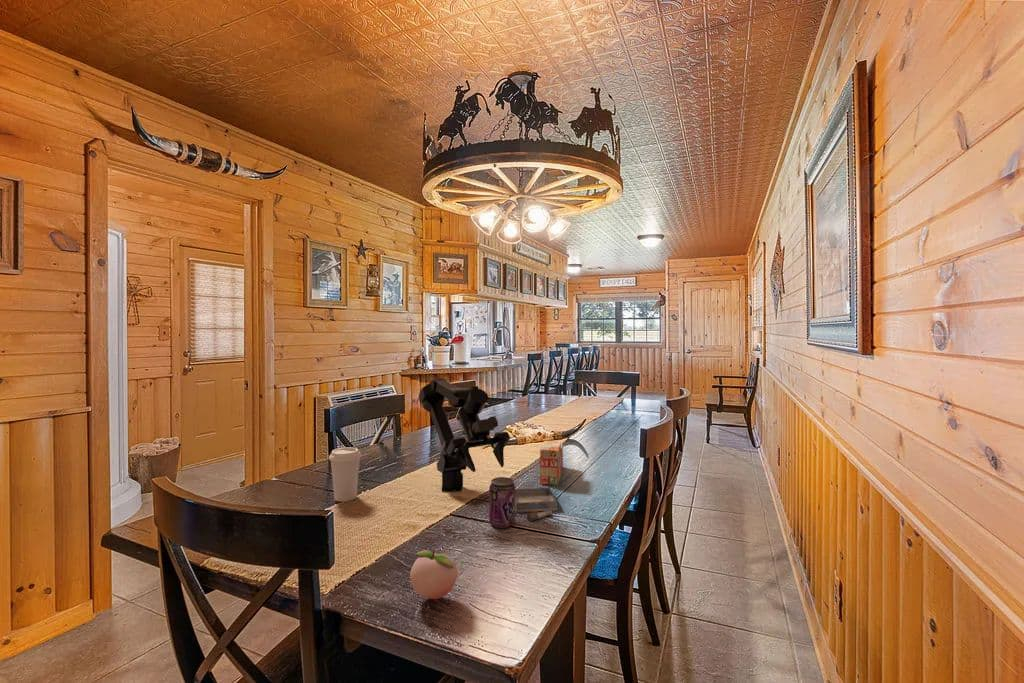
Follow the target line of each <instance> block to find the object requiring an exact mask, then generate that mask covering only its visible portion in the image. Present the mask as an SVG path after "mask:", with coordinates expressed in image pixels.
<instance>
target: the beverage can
mask: <svg viewBox="0 0 1024 683" xmlns="http://www.w3.org/2000/svg"><path fill="white" fill-rule="evenodd" d="M515 489H516V485H515V483H514V479H513V478H511V477H505V476H499V477H495V478H494V477H493V478H492V479H491V480H490V484H489V491H488V492H489V493H488V494H489V496H488V500H489V502H488V503H489V504H488V506H489V507H488V509H489V510H488V511H489V512H488V517H489V520H488V522H489V524H490V525H491V526H493V527H495V528H499V529H505V528H508V527H511V526H513V525H515V524H516V509H515Z"/></svg>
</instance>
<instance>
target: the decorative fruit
mask: <svg viewBox="0 0 1024 683" xmlns="http://www.w3.org/2000/svg"><path fill="white" fill-rule="evenodd" d="M415 556H418V557H417V558H416V560H415V561H414V563H412V564H413V565H412V567H411V570H410V574H409V578H410V583H411V585H412V587H413V590H414V591H415V592H416V593H417V594H418V595H419V596H421V597H423V598H428V599H431V600H437V599H438V600H439V599H442V598H443V597H445V596H446V595H448V594H449V593H450V592H451V591H452V589H453V588H454V587H455V585H456V582H457V578H458V568H457V564H456V562H455V561H454V560H453V559H452V558H451V557H450V556H448V555H446V554H437V553H436V552H435V549H432V551H431V550H428V549H427V550H425V549H424V550H421V551H418V552H416V553H415Z"/></svg>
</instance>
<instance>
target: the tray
mask: <svg viewBox="0 0 1024 683" xmlns="http://www.w3.org/2000/svg"><path fill="white" fill-rule="evenodd" d="M558 502H559V501H558V499H557V498H556V497H555V495H554V493H553V491H552V489H551V488H550V487H532V488H531V487H529V488H528V487H527V488H515V513H516V512H517V513H520V512H522V513H524V512H544V511H547V510H552V511H558V508H559V507H558V504H559V503H558Z"/></svg>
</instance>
